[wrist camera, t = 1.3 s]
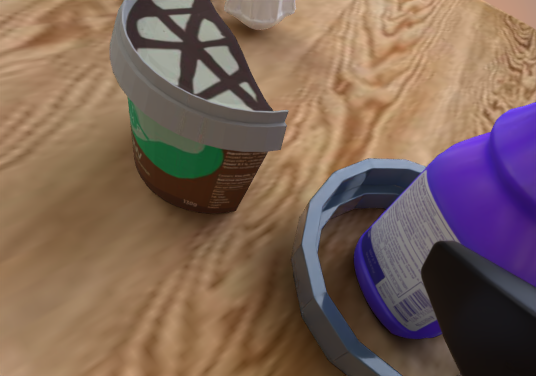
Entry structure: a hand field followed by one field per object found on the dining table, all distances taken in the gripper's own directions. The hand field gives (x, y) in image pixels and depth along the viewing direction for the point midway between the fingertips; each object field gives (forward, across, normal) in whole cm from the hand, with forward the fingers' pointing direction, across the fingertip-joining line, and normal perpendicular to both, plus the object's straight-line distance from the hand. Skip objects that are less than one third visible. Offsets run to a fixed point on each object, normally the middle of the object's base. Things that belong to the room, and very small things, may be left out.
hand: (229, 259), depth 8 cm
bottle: (+10, -14, +13) cm, 21 cm away
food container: (+19, 0, +9) cm, 21 cm away
